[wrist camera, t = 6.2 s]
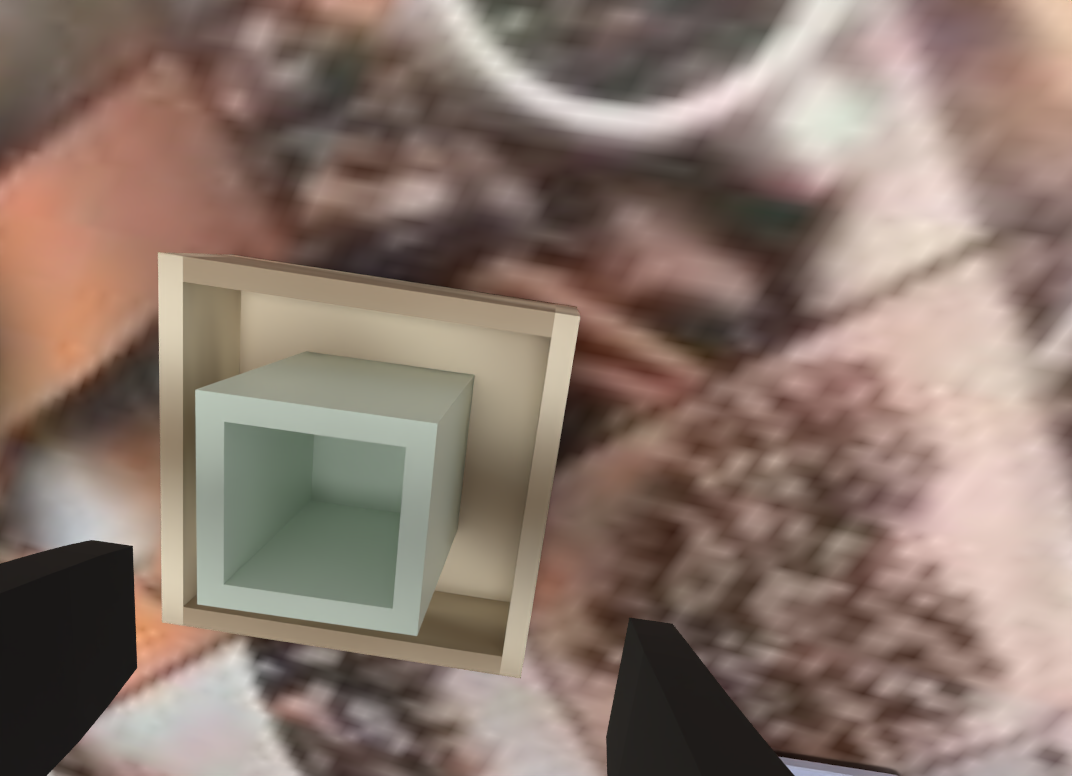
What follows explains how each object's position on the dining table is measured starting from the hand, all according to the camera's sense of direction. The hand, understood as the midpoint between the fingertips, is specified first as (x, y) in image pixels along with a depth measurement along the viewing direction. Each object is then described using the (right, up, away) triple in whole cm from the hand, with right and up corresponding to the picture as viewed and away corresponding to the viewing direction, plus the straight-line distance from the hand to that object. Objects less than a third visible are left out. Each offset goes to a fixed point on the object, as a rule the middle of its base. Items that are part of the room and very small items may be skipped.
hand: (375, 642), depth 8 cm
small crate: (-2, +2, +9) cm, 9 cm away
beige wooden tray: (-2, +2, +9) cm, 10 cm away
